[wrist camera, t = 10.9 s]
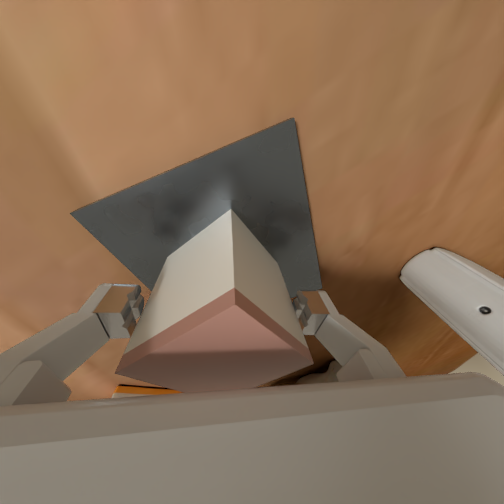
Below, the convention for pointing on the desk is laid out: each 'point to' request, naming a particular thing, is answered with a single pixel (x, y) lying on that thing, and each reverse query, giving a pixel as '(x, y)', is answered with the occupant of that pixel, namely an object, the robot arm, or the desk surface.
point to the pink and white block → (217, 317)
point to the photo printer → (461, 298)
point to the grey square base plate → (215, 208)
